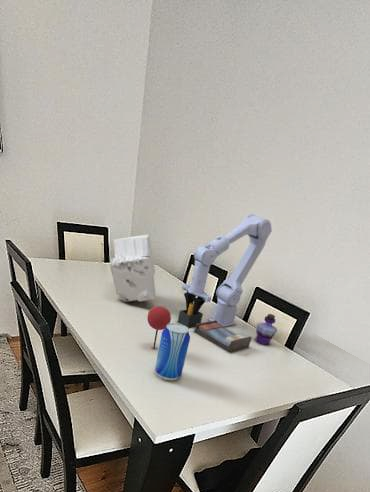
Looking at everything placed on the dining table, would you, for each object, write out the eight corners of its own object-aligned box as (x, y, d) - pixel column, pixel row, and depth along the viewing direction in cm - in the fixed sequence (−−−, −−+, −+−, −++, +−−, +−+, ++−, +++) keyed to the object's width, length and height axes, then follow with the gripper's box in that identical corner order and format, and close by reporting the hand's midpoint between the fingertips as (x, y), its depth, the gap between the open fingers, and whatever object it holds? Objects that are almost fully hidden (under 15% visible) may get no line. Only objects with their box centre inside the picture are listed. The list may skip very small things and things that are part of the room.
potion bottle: (255, 335, 163) (264, 309, 157) (274, 342, 161) (284, 316, 155) (249, 341, 156) (258, 314, 150) (269, 349, 154) (279, 321, 148)
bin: (190, 319, 163) (193, 308, 160) (200, 325, 160) (203, 313, 158) (177, 321, 158) (180, 310, 155) (187, 327, 155) (189, 315, 152)
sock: (190, 313, 159) (193, 302, 156) (196, 316, 157) (198, 305, 155) (185, 314, 157) (188, 302, 154) (190, 317, 155) (193, 305, 153)
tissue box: (156, 305, 160) (145, 242, 147) (119, 310, 162) (104, 248, 148) (159, 291, 178) (149, 234, 164) (125, 296, 179) (112, 239, 165)
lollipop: (167, 347, 135) (175, 307, 127) (159, 355, 129) (167, 313, 121) (147, 341, 136) (154, 300, 128) (139, 348, 130) (145, 306, 122)
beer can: (153, 366, 122) (162, 319, 113) (179, 370, 123) (190, 324, 115) (154, 380, 115) (164, 331, 106) (181, 383, 116) (193, 335, 108)
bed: (213, 327, 161) (216, 317, 158) (248, 347, 151) (252, 337, 149) (194, 331, 153) (196, 321, 150) (229, 352, 143) (233, 342, 141)
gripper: (179, 273, 150) (172, 306, 157) (205, 286, 143) (197, 320, 150) (191, 273, 155) (184, 305, 162) (217, 285, 147) (209, 318, 155)
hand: (191, 312), depth 156 cm, fingers closed on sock, 3 cm apart
